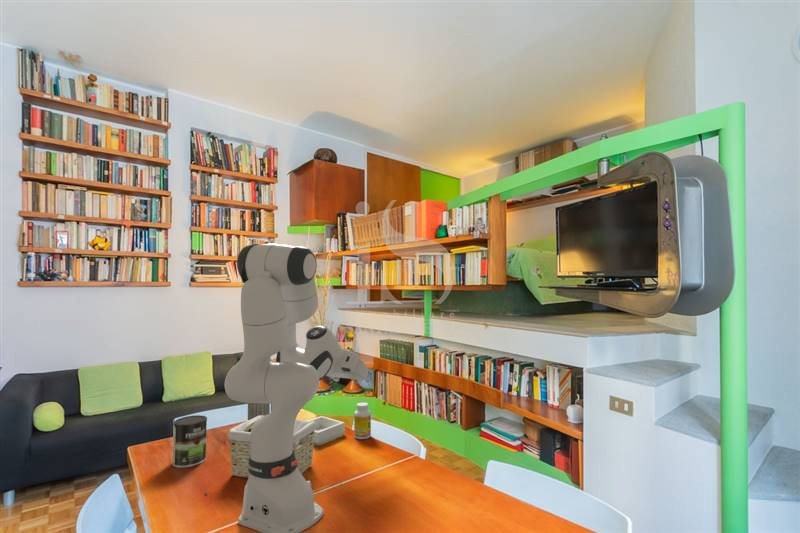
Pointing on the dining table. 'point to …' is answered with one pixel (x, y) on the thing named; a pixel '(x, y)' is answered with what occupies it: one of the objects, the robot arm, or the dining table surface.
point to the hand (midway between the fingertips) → (348, 380)
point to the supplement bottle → (362, 421)
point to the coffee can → (189, 441)
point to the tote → (327, 430)
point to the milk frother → (258, 410)
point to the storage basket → (242, 445)
